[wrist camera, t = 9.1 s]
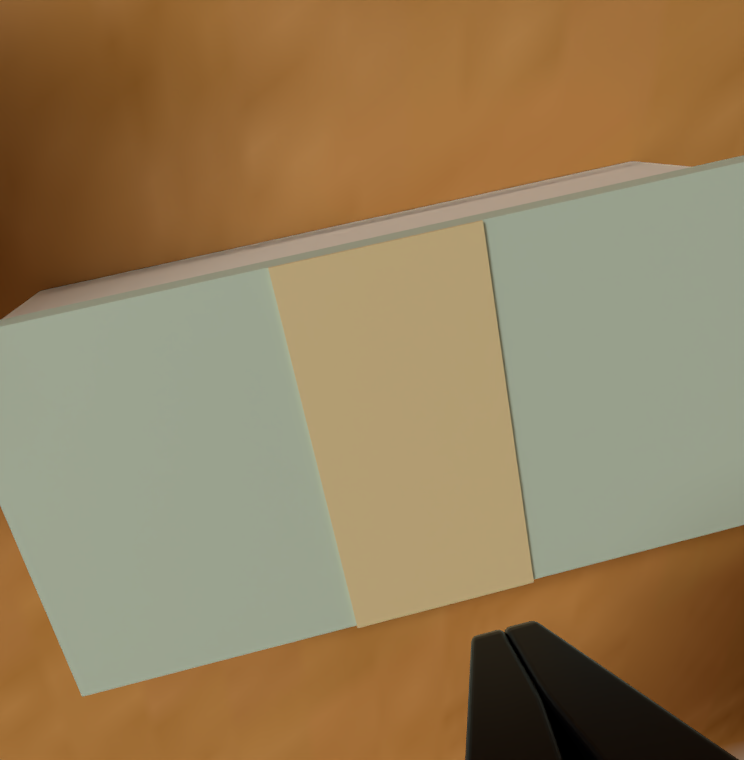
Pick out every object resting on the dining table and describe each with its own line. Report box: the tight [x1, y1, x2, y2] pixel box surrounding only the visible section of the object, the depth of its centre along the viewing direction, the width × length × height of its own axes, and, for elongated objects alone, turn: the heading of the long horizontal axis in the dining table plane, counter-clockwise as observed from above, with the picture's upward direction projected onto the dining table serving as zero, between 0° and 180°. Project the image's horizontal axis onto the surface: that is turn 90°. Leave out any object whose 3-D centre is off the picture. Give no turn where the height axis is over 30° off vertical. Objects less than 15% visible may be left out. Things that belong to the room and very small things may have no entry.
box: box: [1, 161, 689, 320], centre depth 18 cm, size 16×8×5 cm, turn 101°
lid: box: [0, 156, 744, 697], centre depth 15 cm, size 16×8×1 cm, turn 101°
